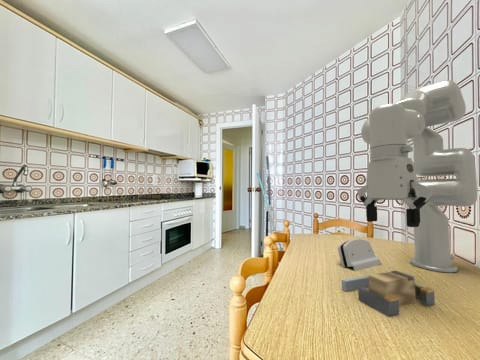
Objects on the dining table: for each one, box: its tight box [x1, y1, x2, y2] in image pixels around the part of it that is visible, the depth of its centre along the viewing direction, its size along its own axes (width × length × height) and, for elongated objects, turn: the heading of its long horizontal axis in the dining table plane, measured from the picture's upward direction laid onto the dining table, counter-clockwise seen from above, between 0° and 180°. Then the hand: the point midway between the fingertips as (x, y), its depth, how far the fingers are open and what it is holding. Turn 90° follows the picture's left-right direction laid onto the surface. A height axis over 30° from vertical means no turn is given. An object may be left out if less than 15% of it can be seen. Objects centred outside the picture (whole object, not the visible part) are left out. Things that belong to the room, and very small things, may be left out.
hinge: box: [337, 238, 382, 272], centre depth 76 cm, size 17×5×10 cm, turn 119°
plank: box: [341, 274, 370, 292], centre depth 57 cm, size 14×1×2 cm, turn 110°
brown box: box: [368, 270, 417, 307], centre depth 49 cm, size 10×4×6 cm, turn 110°
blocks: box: [357, 283, 436, 318], centre depth 49 cm, size 15×7×3 cm, turn 110°
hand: (390, 223), depth 51 cm, fingers open, 9 cm apart
